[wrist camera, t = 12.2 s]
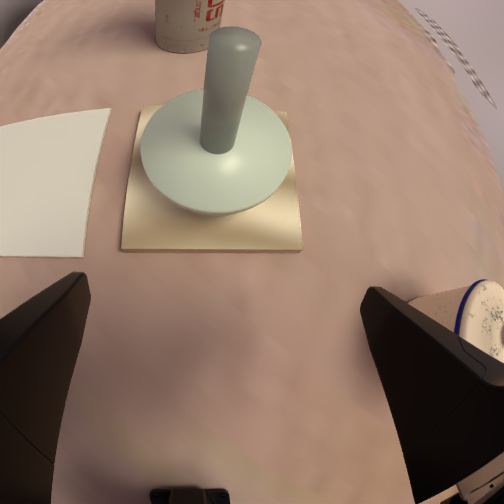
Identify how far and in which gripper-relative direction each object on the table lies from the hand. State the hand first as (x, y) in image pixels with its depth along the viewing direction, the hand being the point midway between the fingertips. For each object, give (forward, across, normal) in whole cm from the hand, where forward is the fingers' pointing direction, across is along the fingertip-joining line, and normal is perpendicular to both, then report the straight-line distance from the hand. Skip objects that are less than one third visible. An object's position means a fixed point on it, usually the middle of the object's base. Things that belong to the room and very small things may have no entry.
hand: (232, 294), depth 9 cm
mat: (+17, +18, +2) cm, 25 cm away
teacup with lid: (+8, -21, +12) cm, 26 cm away
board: (+18, 0, +1) cm, 18 cm away
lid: (+15, 0, -2) cm, 15 cm away
